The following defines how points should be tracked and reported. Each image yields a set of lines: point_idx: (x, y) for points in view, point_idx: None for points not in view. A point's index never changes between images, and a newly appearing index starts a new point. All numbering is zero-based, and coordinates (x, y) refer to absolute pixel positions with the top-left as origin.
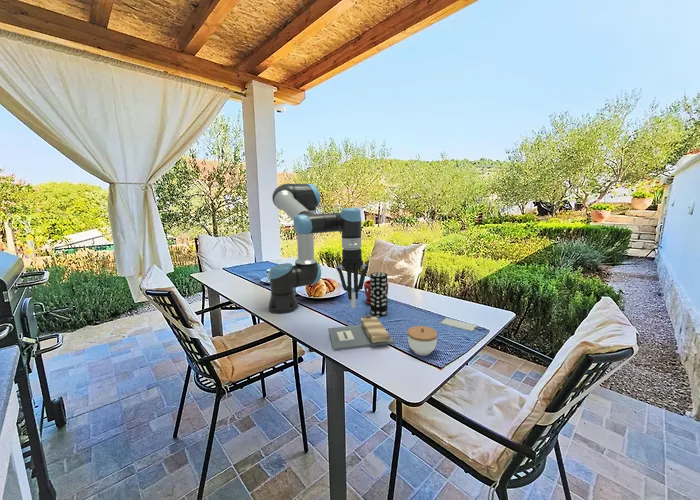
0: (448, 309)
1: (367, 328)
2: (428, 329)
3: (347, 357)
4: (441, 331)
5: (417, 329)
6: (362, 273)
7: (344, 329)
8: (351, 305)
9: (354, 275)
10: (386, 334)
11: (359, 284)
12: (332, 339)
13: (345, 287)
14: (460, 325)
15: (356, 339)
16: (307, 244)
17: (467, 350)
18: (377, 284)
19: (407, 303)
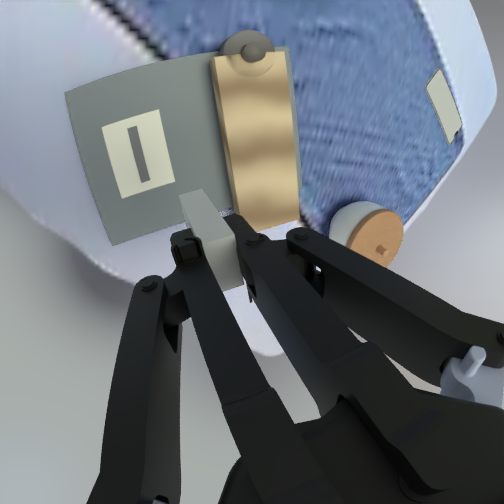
0: (451, 28)
1: (233, 162)
2: (394, 235)
3: (158, 270)
4: (413, 130)
5: (375, 237)
6: (402, 357)
7: (132, 96)
8: (186, 223)
9: (312, 388)
10: (291, 209)
11: (309, 256)
12: (93, 187)
13: (170, 341)
14: (446, 115)
15: (182, 179)
16: None
17: (410, 216)
18: None
19: None
